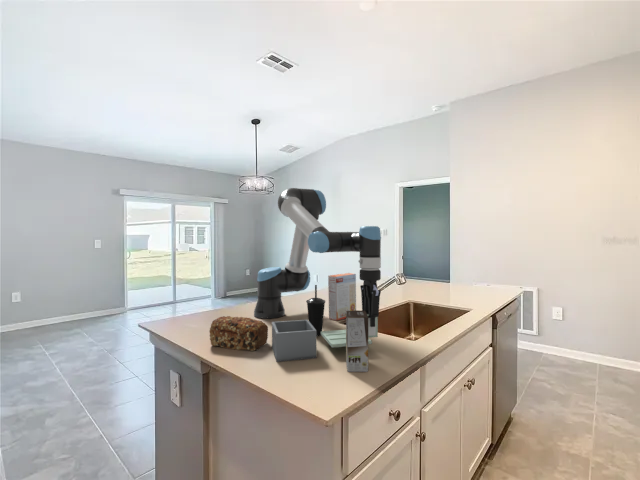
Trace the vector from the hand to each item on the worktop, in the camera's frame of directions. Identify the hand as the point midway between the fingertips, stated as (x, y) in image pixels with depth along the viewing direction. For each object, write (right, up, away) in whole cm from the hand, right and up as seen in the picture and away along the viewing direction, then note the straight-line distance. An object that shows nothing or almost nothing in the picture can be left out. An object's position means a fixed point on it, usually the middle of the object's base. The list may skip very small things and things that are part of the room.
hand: (370, 334), depth 118 cm
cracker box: (-7, -4, +40) cm, 41 cm away
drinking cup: (-20, -4, +13) cm, 24 cm away
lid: (-7, -1, -2) cm, 7 cm away
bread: (-47, -5, +1) cm, 48 cm away
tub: (-27, -4, -7) cm, 28 cm away
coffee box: (-7, -5, -18) cm, 20 cm away
